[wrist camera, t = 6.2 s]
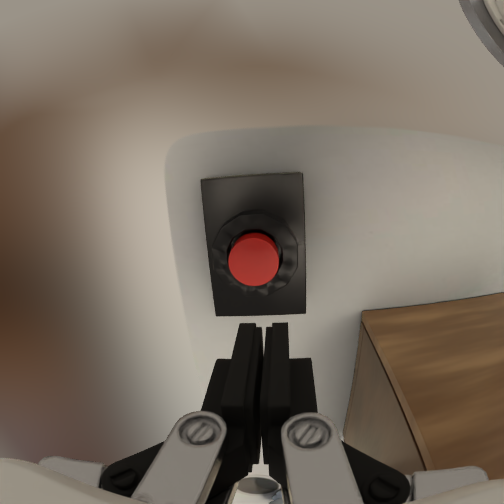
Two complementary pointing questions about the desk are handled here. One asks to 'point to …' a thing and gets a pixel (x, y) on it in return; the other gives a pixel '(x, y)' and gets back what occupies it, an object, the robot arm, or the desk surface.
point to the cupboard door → (448, 377)
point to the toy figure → (277, 498)
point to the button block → (256, 221)
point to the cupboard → (379, 414)
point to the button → (254, 259)
